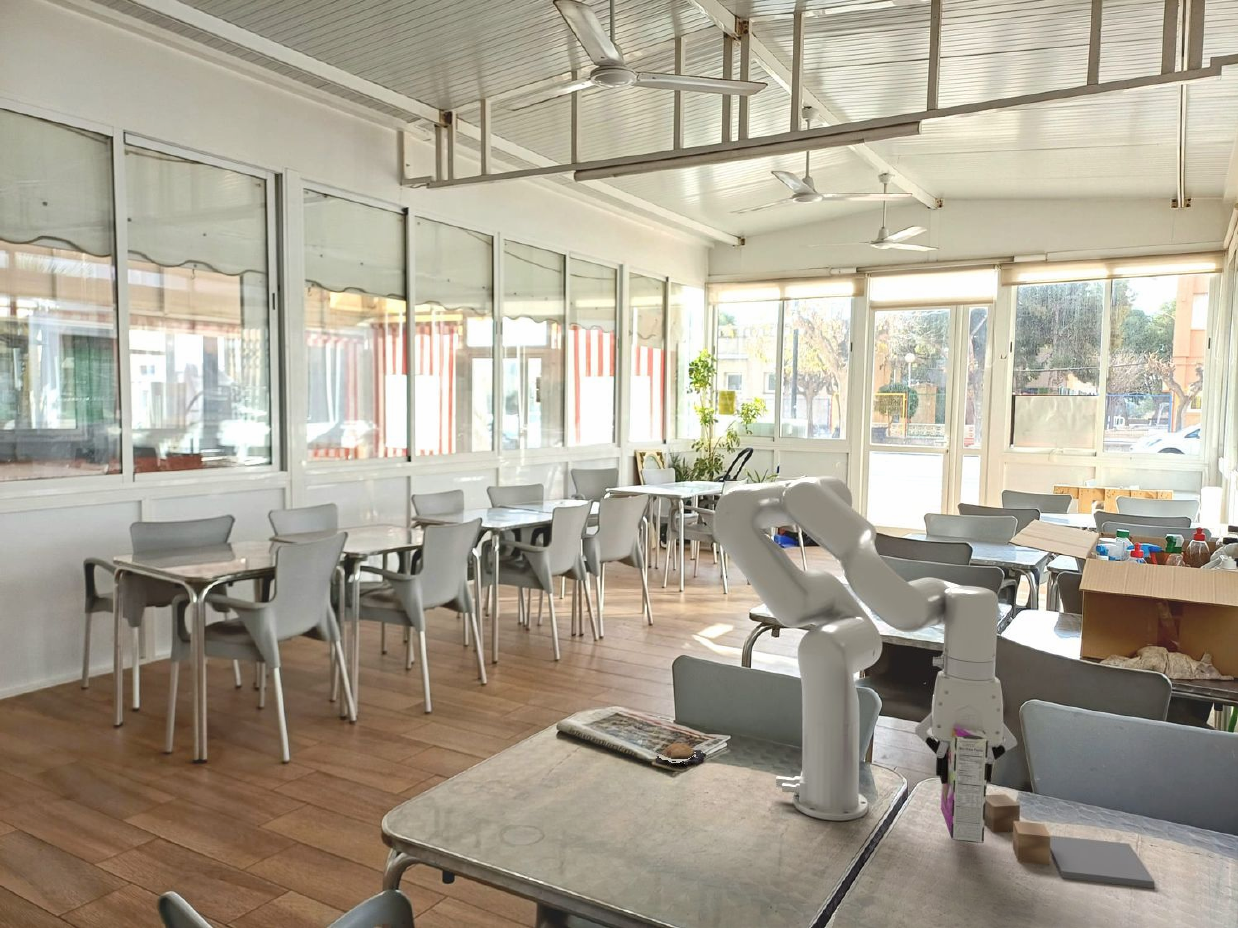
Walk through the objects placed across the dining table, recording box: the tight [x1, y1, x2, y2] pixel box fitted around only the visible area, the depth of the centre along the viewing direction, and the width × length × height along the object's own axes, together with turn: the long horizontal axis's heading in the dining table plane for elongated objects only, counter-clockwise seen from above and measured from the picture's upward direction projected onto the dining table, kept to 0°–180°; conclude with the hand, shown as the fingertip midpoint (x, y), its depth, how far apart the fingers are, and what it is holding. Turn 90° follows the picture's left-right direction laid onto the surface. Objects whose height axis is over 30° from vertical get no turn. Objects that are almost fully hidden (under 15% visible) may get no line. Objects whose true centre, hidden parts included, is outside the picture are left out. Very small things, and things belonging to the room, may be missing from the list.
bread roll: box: [651, 743, 709, 773], centre depth 176 cm, size 11×8×4 cm
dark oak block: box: [984, 793, 1021, 834], centre depth 146 cm, size 4×4×4 cm
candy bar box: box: [940, 729, 988, 844], centre depth 138 cm, size 11×5×16 cm, turn 168°
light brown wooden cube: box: [1012, 821, 1051, 866], centre depth 136 cm, size 4×4×4 cm
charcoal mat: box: [1049, 834, 1155, 889], centre depth 133 cm, size 12×12×1 cm
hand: (962, 781), depth 138 cm, fingers closed on candy bar box, 5 cm apart
